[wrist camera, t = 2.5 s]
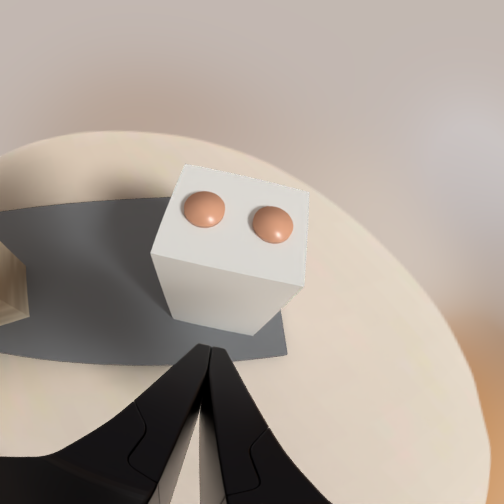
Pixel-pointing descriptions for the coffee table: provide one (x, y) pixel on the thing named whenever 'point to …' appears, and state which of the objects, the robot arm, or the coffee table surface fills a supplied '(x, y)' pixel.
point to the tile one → (12, 288)
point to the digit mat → (106, 290)
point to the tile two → (231, 249)
